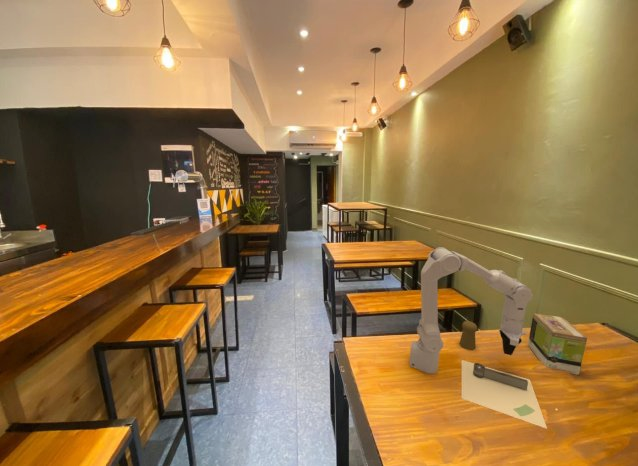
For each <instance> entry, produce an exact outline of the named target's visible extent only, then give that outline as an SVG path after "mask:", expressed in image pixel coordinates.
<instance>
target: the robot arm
mask: <svg viewBox="0 0 638 466" xmlns="http://www.w3.org/2000/svg"><path fill="white" fill-rule="evenodd" d="M427 257H428V258H427V260H426V262H425V264H424V265H423V267H422V269H421V270H420V294H421V295H420V296H421V297H420V298H421V299H420V300H421V301H420V302H421V305H420V307H421V311H420V312H421V318H420V319H419V321H418V322H419V323H418V325H417V328H416V332H417V335H418V337H419V338H418V341H417V340H416V341H415V340H412V341H411V345H410V355H409V365H408V366H409V367H411V368H415V369H416V370H419V371H421V372H423V373H426V374H435V373H437V372H438V369H439V362H440V361H439V359H440V352H441V351H442V349H443V348H444V341H443V339H442V337H441V331H440V328H439V323H438V322H439V317H438V316H439V315H438V314H439V313H438V309H439V308H438V307H439V305H438V304H439V303H438V298H439V296H438V292H439V291H438V283H439V282H438V281H439V280H440V279H441V278H443V277H447V276H448V275H451V274H453V273H455V272H457V271H459V272H463V271H465V270H467V271H468V272H470V273H472V274H474V275H477V276H479V277H480V278H482V279H483V280H484V284H486V285H487V286H489V287H491V288H492V289H493V290H495V291H498V292H500V293H502V294H503V295H504V302H503V309H502V317H501V321H500V323H501V324H500V326H499V335H500V337H501V343H502V351H503V354H504V355H509V356H512V355H513V353H514V352H515V349H516V348H517V347H519V344H521V343H522V341H523V340H522V338H521V337H522V336H527V331H526V330H524V322H525V314H526V310H527V309H526V308H527V307H528V304H529V302H531V301H532V300H533V298H534V294H532V290H531V288H530V287H528V286H527V285H525V284H524V283H521V282H520V281H519V280H518V279H517V278H515V277H513V278H512V277H510V276H509V275H507V273H506V272H505V271H503V270H502V269H499V270H497V269H491V270H489V269H487V268H485V267H484V266H483V265H480V264H479V263H477V262H475V261H473V260H472V259H470V258H468V257H467V256H465V255H464V254H461V253H458V252H456V251H453V250H449V249H448V248H446V247H442V246H441V247H440V246H439V247H436V248H434V249H433V250H432V251H430V253H428V256H427Z"/></svg>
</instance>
